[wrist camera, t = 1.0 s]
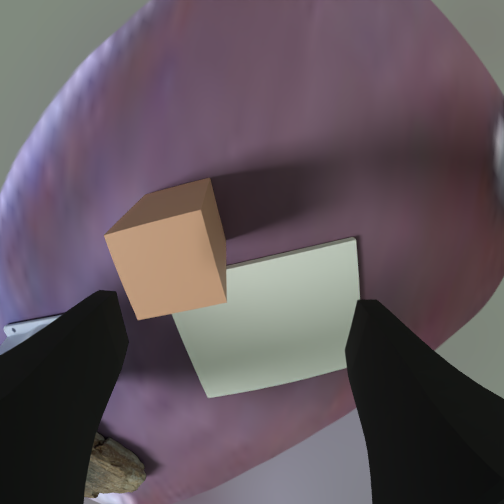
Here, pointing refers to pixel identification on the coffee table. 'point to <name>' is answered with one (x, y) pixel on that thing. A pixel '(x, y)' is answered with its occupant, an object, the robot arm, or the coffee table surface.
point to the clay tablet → (112, 469)
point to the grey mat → (275, 320)
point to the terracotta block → (171, 251)
